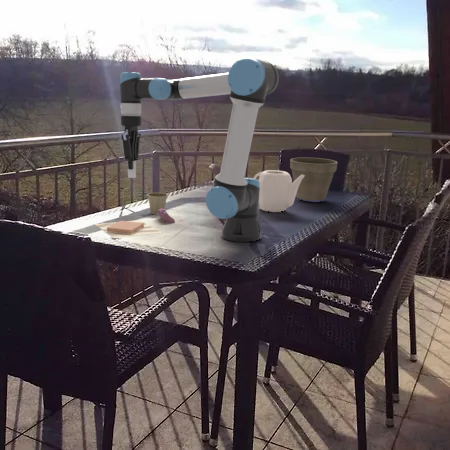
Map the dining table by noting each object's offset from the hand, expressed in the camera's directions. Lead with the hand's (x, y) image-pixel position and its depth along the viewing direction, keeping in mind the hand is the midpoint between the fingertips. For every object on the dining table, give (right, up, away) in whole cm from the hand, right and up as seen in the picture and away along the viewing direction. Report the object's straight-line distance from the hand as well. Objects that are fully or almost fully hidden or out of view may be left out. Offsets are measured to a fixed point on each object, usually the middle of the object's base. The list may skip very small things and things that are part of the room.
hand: (132, 177), depth 197 cm
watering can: (+60, -12, +48) cm, 78 cm away
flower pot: (+6, -13, +32) cm, 35 cm away
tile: (-1, -18, +5) cm, 19 cm away
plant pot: (+82, -5, +79) cm, 114 cm away
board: (-2, -20, +2) cm, 21 cm away
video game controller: (+11, -17, +17) cm, 27 cm away
